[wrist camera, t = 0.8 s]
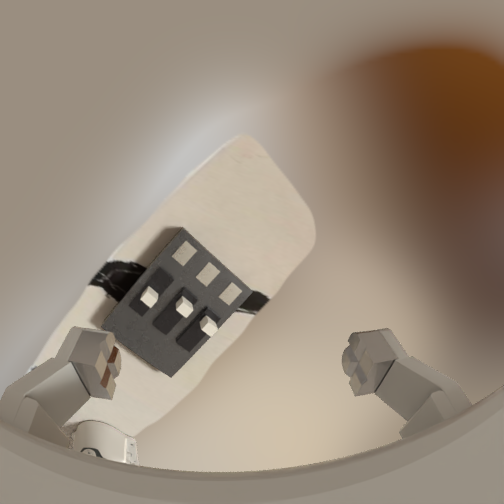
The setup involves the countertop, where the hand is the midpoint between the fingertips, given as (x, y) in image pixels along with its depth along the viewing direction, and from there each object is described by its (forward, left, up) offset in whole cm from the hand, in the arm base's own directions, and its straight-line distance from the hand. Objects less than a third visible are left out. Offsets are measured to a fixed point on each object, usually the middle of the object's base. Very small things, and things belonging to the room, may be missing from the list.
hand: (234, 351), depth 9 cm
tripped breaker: (-9, +7, -37) cm, 39 cm away
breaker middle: (-12, +1, -37) cm, 39 cm away
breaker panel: (-13, +3, -42) cm, 44 cm away
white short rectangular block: (-15, -3, -37) cm, 40 cm away
